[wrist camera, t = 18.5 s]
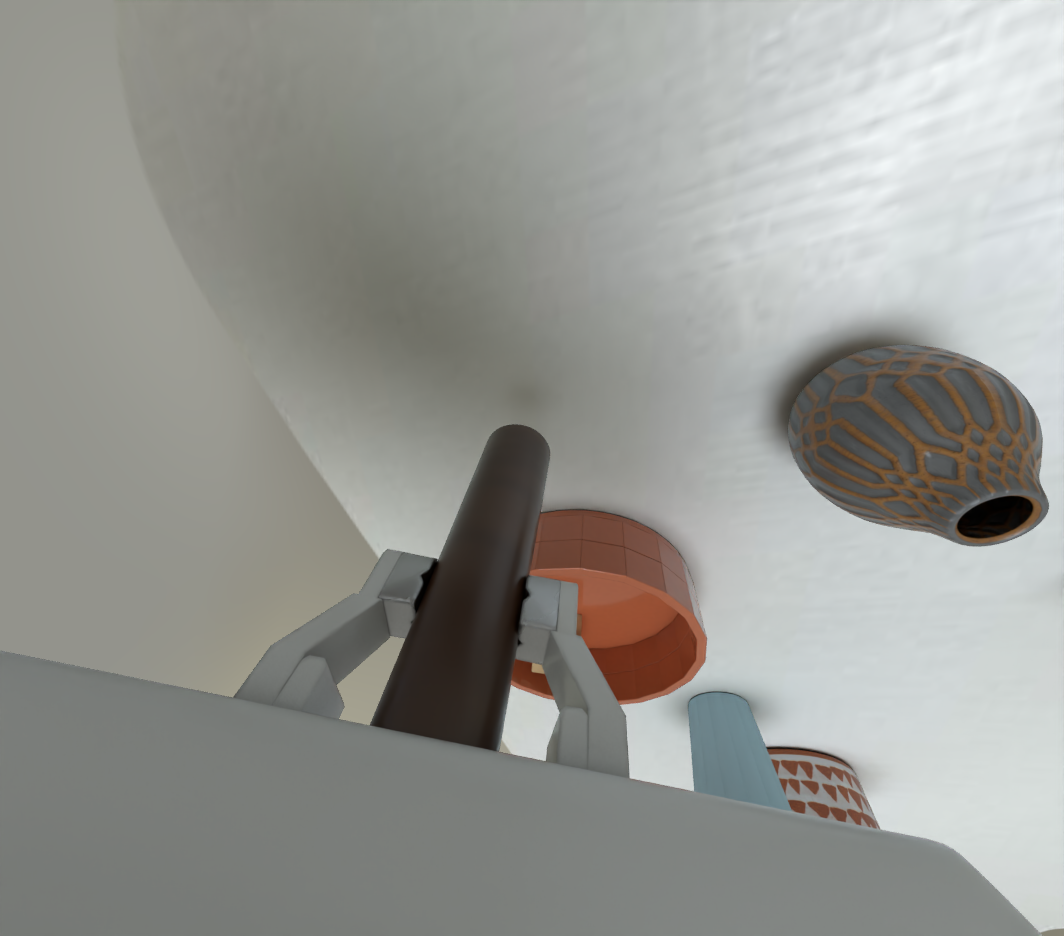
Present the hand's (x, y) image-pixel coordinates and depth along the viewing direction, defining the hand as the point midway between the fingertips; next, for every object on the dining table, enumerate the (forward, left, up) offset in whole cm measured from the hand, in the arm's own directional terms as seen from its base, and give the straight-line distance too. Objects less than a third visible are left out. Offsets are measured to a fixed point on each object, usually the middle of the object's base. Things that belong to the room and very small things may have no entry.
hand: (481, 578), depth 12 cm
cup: (+21, -29, -12) cm, 38 cm away
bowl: (+5, -15, -12) cm, 20 cm away
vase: (+15, +3, -12) cm, 20 cm away
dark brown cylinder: (0, 0, -7) cm, 7 cm away
